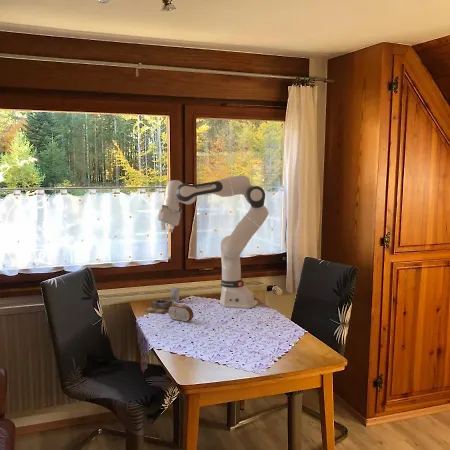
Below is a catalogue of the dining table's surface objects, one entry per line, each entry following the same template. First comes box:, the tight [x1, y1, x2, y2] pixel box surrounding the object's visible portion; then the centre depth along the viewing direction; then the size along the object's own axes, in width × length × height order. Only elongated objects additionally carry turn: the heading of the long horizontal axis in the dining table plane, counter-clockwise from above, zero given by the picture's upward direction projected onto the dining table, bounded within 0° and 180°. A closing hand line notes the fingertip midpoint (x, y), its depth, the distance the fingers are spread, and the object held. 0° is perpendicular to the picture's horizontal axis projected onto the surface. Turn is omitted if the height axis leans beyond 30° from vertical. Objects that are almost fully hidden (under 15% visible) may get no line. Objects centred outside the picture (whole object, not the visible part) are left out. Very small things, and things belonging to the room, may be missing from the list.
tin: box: [167, 303, 194, 323], centre depth 257 cm, size 15×3×8 cm, turn 58°
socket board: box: [144, 298, 177, 315], centre depth 278 cm, size 11×17×4 cm, turn 156°
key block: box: [169, 286, 180, 303], centre depth 291 cm, size 4×3×8 cm
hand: (167, 231), depth 282 cm, fingers open, 8 cm apart
